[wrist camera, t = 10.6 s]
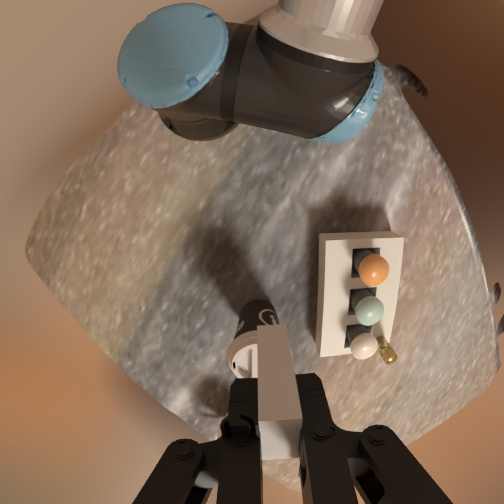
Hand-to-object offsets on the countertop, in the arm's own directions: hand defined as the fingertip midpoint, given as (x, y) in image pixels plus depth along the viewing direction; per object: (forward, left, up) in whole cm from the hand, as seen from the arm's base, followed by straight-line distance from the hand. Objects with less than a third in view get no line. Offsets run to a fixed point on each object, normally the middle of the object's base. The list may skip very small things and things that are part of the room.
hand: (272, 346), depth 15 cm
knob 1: (+6, +17, -34) cm, 39 cm away
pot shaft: (+22, +22, -29) cm, 43 cm away
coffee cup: (+17, -1, -35) cm, 39 cm away
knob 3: (+20, +17, -34) cm, 43 cm away
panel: (+13, +17, -34) cm, 41 cm away
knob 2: (+13, +17, -34) cm, 41 cm away
